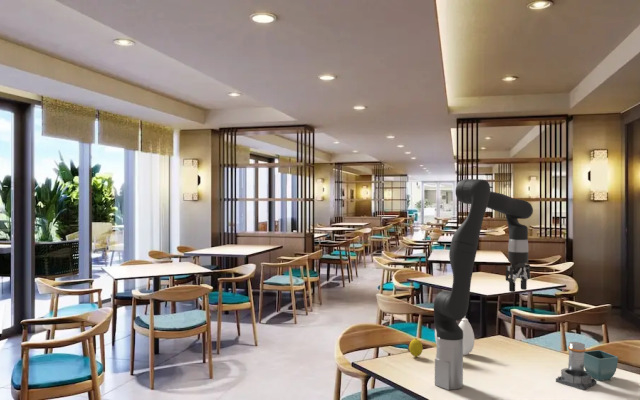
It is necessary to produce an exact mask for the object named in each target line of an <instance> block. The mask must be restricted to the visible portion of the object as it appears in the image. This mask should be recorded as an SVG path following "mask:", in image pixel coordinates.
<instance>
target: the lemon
mask: <svg viewBox="0 0 640 400" xmlns="http://www.w3.org/2000/svg"><path fill="white" fill-rule="evenodd" d="M423 348H424V347H423V344H422V342H421V340H420V339H418V338H414V339H412V340H411V341H410V343H409V347H408V349H409V353H410V354H411V355H412V356H413V357H414V358H418V357H419V356H420V355H422V353H423Z"/></svg>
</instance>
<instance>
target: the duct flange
mask: <svg viewBox="0 0 640 400" xmlns="http://www.w3.org/2000/svg"><path fill="white" fill-rule="evenodd" d="M555 382H556V383H558V384H562V385H565V386H569V387H571V388H572V387H573V388H575V389H579V390H582V391H586V390H588V389H589V388H591V387H594V386H595V385H598V384H597V383H598V381H597V379H595V378H593V377H592V376H591V374H590V373H589V372H587V371H586V370H584V376H574V375H570V374H568V367H567V368H566V367H565V368H562V369H561V371H560V376H557V377H556V378H555Z"/></svg>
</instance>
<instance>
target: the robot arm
mask: <svg viewBox="0 0 640 400" xmlns="http://www.w3.org/2000/svg"><path fill="white" fill-rule="evenodd" d="M455 196H456V198H457V200H458V201H459V202H460V203H462V204H464V205H465V204H466V205H470V207H469V208H470V209H469V212H468V214H467V216H466V217H465V219H464V221H463V222H462V223H461V224H460V226H459V227H458V228H457V229H456V230H455V232H454V233H453V235H452V237H451V242H450V246H449V253H448V257H449V263H450V267H451V271H452V279H453V280H452V286H451V291H448V290H442V291H439V292H438V293H437V294H436V296H435V297H434V302H433V321H434V323H433V324H434V330H435V329H436V332H437V346H436V353H437V358H436V357H435V359H434V386H437V387H439V388H442V389H445V390H448V391H450V390H459V389H462V388H463V386H464V385H463V384H464V383H463V382H464V355H463V330H462V329H461V328H460V327H459V324H458V321H462V319H463V318H464V317H465V318H466V316H467V313H468V310H469V304H470V294H471V284H472V279H473V278H472V276H473V271H474V266H475V261H476V256H477V251H478V247H479V246H478V245H479V240H480V235H481V229H482V226H483V221H484V218H485V214H486V210H487V209H491V210H493V211H496V212H498V213H501V214H504V215H505V219H506V222H507V226H508V234H509V235H508V246H507V247H508V248H507V250H508V251H507V252H508V255H507V256H508V257H507V258H508V259H507V261H508V263H511V264H510V265H506V266H505V281H506V282H508V291H509V292H512V293H515V292H516V281H517V279H518V278H520V289H521V290H527V287H528V285H527V284H528V283H527V282H528V280H529V279H531V264H530V263H529V240H528V237H529V229H528V227H527V225H525V224H521V223H520V222H519V220H525V219H529V218H530V217H532V215H533V213H534V208H533V206H532V204H531V203H530V202H529V201H527V200H524V199H520V198H519V199H518V198H515V197H514V198H513V197H510V196H508V195H507V194H504V193H500V192H496V191H495V192H494V191H491V186H490V183H489V181H488V180H486V179H481V178H479V179H478V178H477V179H475V178H467V179H466V178H465V179H462V180H460V181H458V182H457V184H456V186H455Z"/></svg>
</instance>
